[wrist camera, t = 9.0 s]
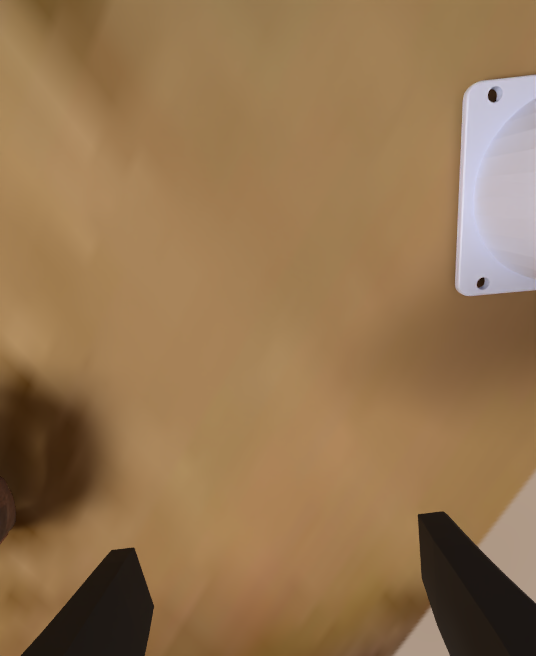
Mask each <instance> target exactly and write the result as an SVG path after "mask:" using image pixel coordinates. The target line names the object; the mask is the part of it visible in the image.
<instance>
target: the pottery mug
mask: <svg viewBox="0 0 536 656" xmlns="http://www.w3.org/2000/svg"><path fill="white" fill-rule="evenodd" d="M15 522H16V509H15V502H14V499H13V496H12V493H11V491H10V490H9V488H8V486H7V483H6V481H5V479H4V478H2V477H1V476H0V544H1V543H2V541H3V540H4V539H5V537H6V536H7V535H8V532H9V531H10V530H11V529H12V528H13V526H14V524H15Z"/></svg>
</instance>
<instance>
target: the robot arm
mask: <svg viewBox="0 0 536 656" xmlns="http://www.w3.org/2000/svg"><path fill="white" fill-rule="evenodd" d="M490 89H493V90H495V91H496V93H497V98H496V101H495V102H494V103H493V102H491V101H490V100H489V99H488V93H489V90H490ZM483 277H484V279H485V282H484V285H483V286H482V287H479V288H477V281H478V280H479V279H480V278H483ZM455 287H456V289H457V291H458V292H459V293H461V294H463V295H465V296H476V295H487V294H498V293H509V292H521V291H532V290H536V75H528V76H520V77H511V78H502V79H493V80H485V81H480V82H477V83H475V84H473V85H471V86H470V87H469V88H468V89H467V90H466V92H465V94H464V98H463V112H462V135H461V158H460V182H459V205H458V228H457V251H456V275H455ZM418 525H419V541H420V557H421V573H422V580H423V583H424V586H425V589H426V592H427V596H428V599H429V602H430V605H431V608H432V611H433V614H434V617H435V620H436V623H437V626H438V628H439V630H440V633H441V635H442V638H443V640H444V642H445V645H446V647H447V649H448V652H449V654H450V656H536V603H535V602H534V601H533V600H532V599H530V598H529V597H528V596H527V595H526V594H525V593H524V592H523V591H522V590H521V589H520V588H519V587H518V586H517V585H516V584H515V583H514V582H512V581H511V580H510V579H509V578H508V577H507V576H506V575H505V574H504V573H503V572H502V571H501V570H500V569H499V568H498V567H497V566H496V565H495V564H494V563H493V562H492V561H491V560H490V559H489V558H488V557H487V556H486V555H485V554H484V553H483V552H482V551H481V550H480V549H479V548H478V547H477V546H476V545H475V544H474V543H473V542H472V541H471V539H470V538H469V537H468V536H467V535H466V534H465V533H464V532H463V531H462V530H461V529H460V528H459V527H458V526H457V524H456V523H455V522H454V521H453V520H452V519H451V518H450V517H449V516H448V515H447V514H446V513H445V512H434V513H425V514H418ZM153 609H154V605H153V602H152V599H151V596H150V593H149V590H148V587H147V584H146V581H145V578H144V575H143V572H142V569H141V566H140V563H139V560H138V557H137V554H136V551H135V548H126V549H117V550H111V551H110V553H109V554H108V555H107V556H106V557H105V558H104V559H103V561H102V562H101V563H100V564H99V565H98V567H97V568H96V569H95V570H94V571H93V572H92V574H91V575H90V576H89V577H88V578H87V580H86V581H85V582H84V583H83V584H82V586H81V587H80V588H79V589H78V590H77V592H76V593H75V594H74V595H73V596H72V598H71V599H70V600H69V601H68V602H67V603H66V605H65V606H64V607H63V608H62V609H61V611H60V612H59V613H58V614H57V615H56V616H55V618H54V619H53V620H52V621H51V622H50V623H49V625H48V626H47V627H46V628H45V629H44V630H43V632H42V633H41V634H40V635H39V636H38V637H37V638H36V639H35V640H34V642H33V643H32V644H31V645H30V646H29V647H28V648H27V649H26V650H25V651H24V653H23V654H22V655H21V656H145V651H146V646H147V641H148V636H149V631H150V626H151V620H152V615H153Z"/></svg>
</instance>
